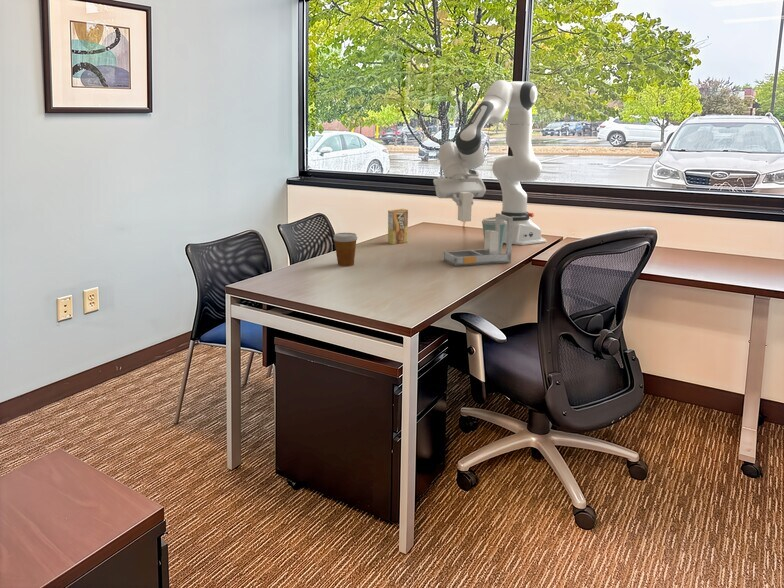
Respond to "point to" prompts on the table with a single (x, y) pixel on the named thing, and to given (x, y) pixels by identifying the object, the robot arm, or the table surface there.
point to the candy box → (397, 226)
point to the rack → (485, 248)
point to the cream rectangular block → (465, 206)
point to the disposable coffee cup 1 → (345, 248)
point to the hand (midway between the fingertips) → (465, 204)
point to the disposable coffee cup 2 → (490, 225)
